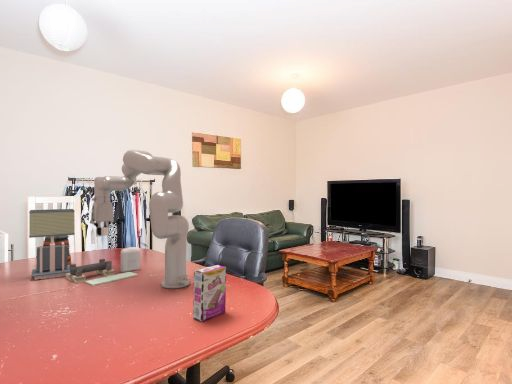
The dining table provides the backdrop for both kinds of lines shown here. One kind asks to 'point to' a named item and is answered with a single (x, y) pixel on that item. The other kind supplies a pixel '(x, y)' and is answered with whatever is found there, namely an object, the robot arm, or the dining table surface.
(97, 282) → the mat
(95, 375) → the dining table surface
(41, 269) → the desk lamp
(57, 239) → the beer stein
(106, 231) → the beige rectangular block
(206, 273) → the candy bar box
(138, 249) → the photo printer
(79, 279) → the clamp board
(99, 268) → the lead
